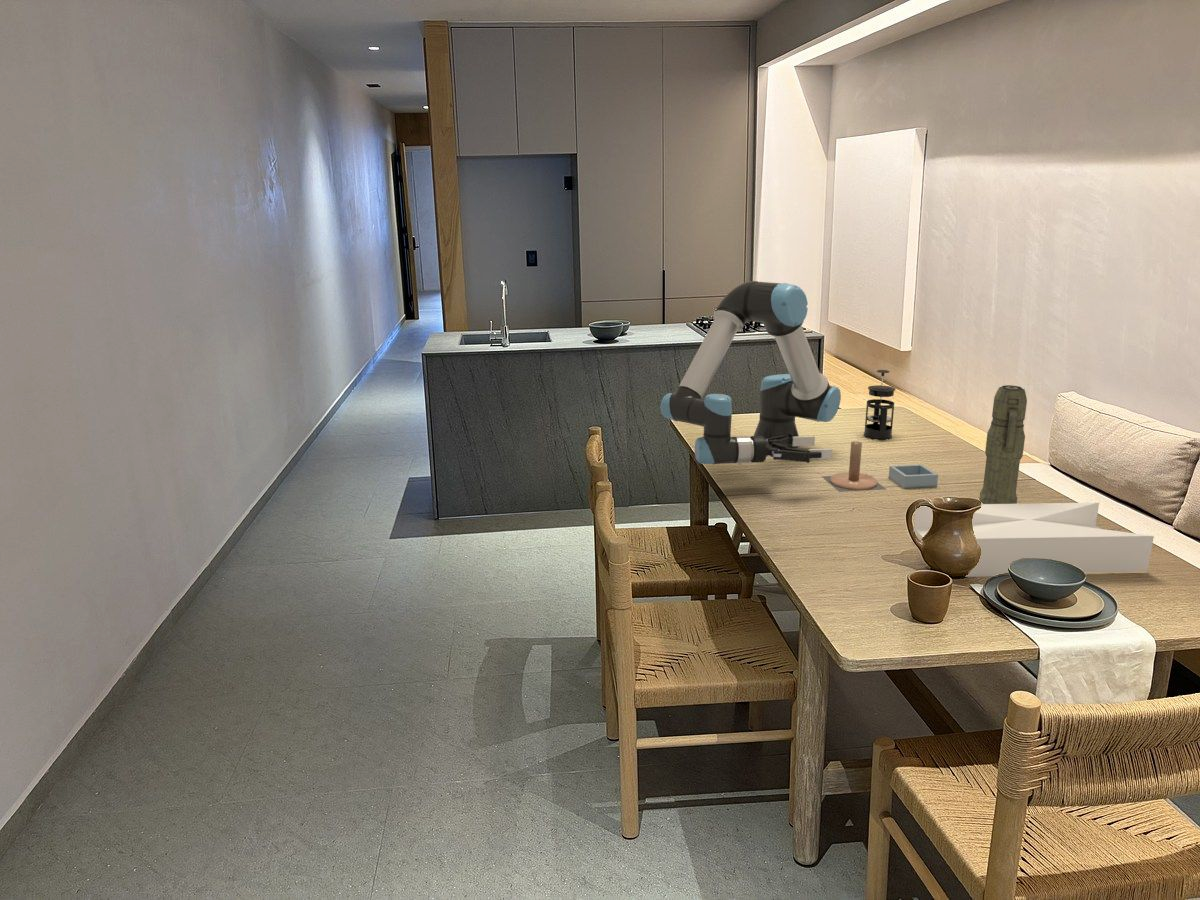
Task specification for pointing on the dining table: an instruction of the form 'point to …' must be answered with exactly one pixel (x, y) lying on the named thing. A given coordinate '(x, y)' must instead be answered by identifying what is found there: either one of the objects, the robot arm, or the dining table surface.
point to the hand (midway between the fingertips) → (822, 447)
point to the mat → (827, 478)
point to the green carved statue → (1004, 446)
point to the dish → (913, 476)
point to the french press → (881, 429)
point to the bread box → (1048, 537)
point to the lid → (854, 473)
